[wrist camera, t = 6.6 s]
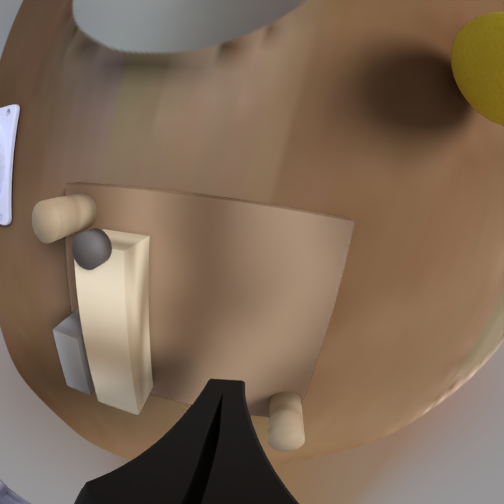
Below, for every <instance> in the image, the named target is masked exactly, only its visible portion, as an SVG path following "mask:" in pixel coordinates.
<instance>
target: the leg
mask: <svg viewBox="0 0 504 504" xmlns="http://www.w3.org/2000/svg"><path fill="white" fill-rule="evenodd" d="M149 239H150V236H146V235H140V234H133V233H126V232H119V231H112V230H106V229H103V230H101V229H98V228H93V229H90V230H88V231H85V232H82V233H80V234H78V235H77V236H76V237H75V238H74V240H73V243H72V253H73V256H74V264H75V277H76V288H77V297H78V305H79V313H80V319H81V326H82V332H83V338H84V343H85V348H86V353H87V358H88V362H89V367H90V371H91V375H92V379H93V383H94V387H95V391H96V395H97V398H98V401H99V402H101V403H104V404H107V405H109V406H112V407H115V408H118V409H121V410H124V411H127V412H130V413H133V414H136V415H139V414H140V412H141V410H142V408H143V406H144V404H145V402H146V400H147V398H148V396H149V394H150V392H151V390H152V388H153V380H152V368H151V353H150V334H149V296H148V278H149Z"/></svg>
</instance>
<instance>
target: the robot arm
mask: <svg viewBox="0 0 504 504" xmlns="http://www.w3.org/2000/svg"><path fill="white" fill-rule="evenodd" d="M19 112H20V107H19V105H15V104H13V105H10V106H6V107H3V108H0V224H1V225H9V224H10V223H11V220H12V208H11V196H12V169H13V156H14V146H15V138H16V130H17V124H18V118H19ZM0 504H31V503H29V502H27V501H26V500H25V499H23V498H22V497H20V496H19V495H17V494H16V493H14V492H13V491H12V490H10V489H9V488H8V487H7V486H6V485H5V484H4V483H3V482H2V481H1V480H0ZM74 504H299V503H298V502H297V501H296V500H295V498H294V497H293V496H292V495H291V493H290V492H289V491H288V490H287V488H286V487H285V485H284V484H283V482H282V481H281V479H280V478H279V477H278V475H277V474H276V472H275V471H274V469H273V467H272V465H271V464H270V462H269V460H268V458H267V456H266V454H265V453H264V451H263V449H262V446H261V444H260V442H259V440H258V437H257V435H256V432H255V430H254V427H253V424H252V421H251V418H250V414H249V411H248V407H247V402H246V396H245V382H244V381H242V380H225V379H210V380H208V382H207V384H206V386H205V387H204V389H203V390H202V392H201V393H200V395H199V396H198V397H197V399H196V400H195V402H194V403H193V404H192V405H191V407H190V408H189V409H188V410H187V412H186V413H185V414H184V415H183V416H182V418H181V419H180V420H179V421H178V422H177V423H176V424H175V425H174V426H173V427H172V428H171V429H170V430H169V431H168V432H167V433H166V434H165V435H164V436H163V437H162V438H161V439H160V440H158V441H157V442H156V443H155V444H154V445H153V446H151V447H150V448H149V449H147V450H146V451H145V452H143V453H142V454H141V455H139V456H138V457H136V458H135V459H133V460H131V461H130V462H128V463H126V464H125V465H123V466H121V467H119V468H118V469H116V470H114V471H112V472H110V473H108V474H105V475H103V476H101V477H98V478H96V479H94V480H91V481H88V482H86V484H85V485H84V487H83V488H82V489H81V491H80V493H79V495H78V497H77V499H76V501H75V503H74Z"/></svg>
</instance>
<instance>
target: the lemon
mask: <svg viewBox="0 0 504 504" xmlns="http://www.w3.org/2000/svg"><path fill="white" fill-rule="evenodd" d="M451 67H452V71H453V75H454V78H455V81H456V83H457V86H458V87H459V89H460V91H461V93H462V95H463V96H464V97H465V99H466V100H467V101H468V103H469V104H470V105H471V106H472V107H473V108H474V109H475V110H476V111H477V112H478V113H480V114H481V115H483V116H484V117H486V118H487V119H489V120H490V121H492V122H495V123H497V124H500V125H503V126H504V12H493V13H488V14H485V15H482V16H479V17H477V18H475V19H473V20H471V21H469V22H468V23H467V24H466V25H465V26H464V27H463V28H462V29H461V30H460V32H459V33H458V34H457V36H456V38H455V39H454V42H453V46H452V51H451Z"/></svg>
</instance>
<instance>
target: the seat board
mask: <svg viewBox="0 0 504 504" xmlns="http://www.w3.org/2000/svg"><path fill="white" fill-rule="evenodd" d="M32 226H33V229H34V232H35V234H36V236H37V237H38V239H39V240H40V241H42V242H44V243H51V242H54V241H56V240H59V239H61V238H64V237H65V245H66V264H67V277H68V287H69V296H70V304H71V312H72V314H71V315H70V316H68V317H67V318H66V319H65V320H64V321H62V322H61V323H60V324H59V325H58V326H56V327H55V328H54V329H53V333H54V338H55V342H56V346H57V350H58V354H59V358H60V362H61V366H62V369H63V373H64V376H65V379H66V383H67V386H69V387H72V388H74V389H76V390H79V391H81V392H83V393H86V394H88V395H91V394H92V393H93V391H94V390H95V387H94V383H93V379H92V375H91V371H90V367H89V362H88V358H87V353H86V348H85V343H84V338H83V332H82V326H81V319H80V313H79V305H78V297H77V288H76V277H75V264H74V256H73V253H72V243H73V240H74V238H75V237H76V236H77V235H78V234H80V233H82V232H85V231H88V230H90V229H93V228H98V229H101V230H103V229H106V230H112V231H119V232H126V233H133V234H140V235H146V236H150V239H149V278H148V296H149V334H150V353H151V368H152V380H153V388H152V390H151V392H150V394H151V395H154V396H158V397H162V398H166V399H170V400H174V401H178V402H182V403H186V404H191V405H192V404H193V403H194V402H195V400H196V399H197V397H198V396H199V395H200V393H201V392H202V390H203V389H204V387H205V386H206V384H207V382H208V380H210V379H225V380H242V381H244V382H245V396H246V402H247V407H248V411H249V414H250V415H255V416H264V417H269V441H268V443H269V445H270V446H271V447H272V448H274V449H276V450H280V451H289V450H294V449H297V448H299V447H301V446H302V445H303V444H304V442H305V436H304V426H303V416H302V407H301V405H302V402H303V400H304V397H305V394H306V392H307V389H308V386H309V383H310V381H311V378H312V375H313V372H314V369H315V366H316V363H317V360H318V357H319V354H320V351H321V348H322V345H323V342H324V339H325V335H326V332H327V329H328V326H329V322H330V319H331V315H332V312H333V308H334V305H335V301H336V298H337V294H338V290H339V286H340V283H341V279H342V275H343V271H344V267H345V263H346V259H347V254H348V250H349V246H350V241H351V237H352V232H353V227H354V221H353V220H351V219H349V218H346V217H341V216H335V215H330V214H325V213H319V212H314V211H308V210H302V209H297V208H291V207H285V206H279V205H273V204H266V203H260V202H253V201H247V200H240V199H233V198H226V197H219V196H211V195H203V194H196V193H187V192H179V191H170V190H161V189H152V188H142V187H132V186H120V185H109V184H96V183H82V182H75V183H67V184H66V196H63V197H58V198H53V199H48V200H43V201H40V202H38V203H37V204H36V206H35V207H34V210H33V213H32Z"/></svg>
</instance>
